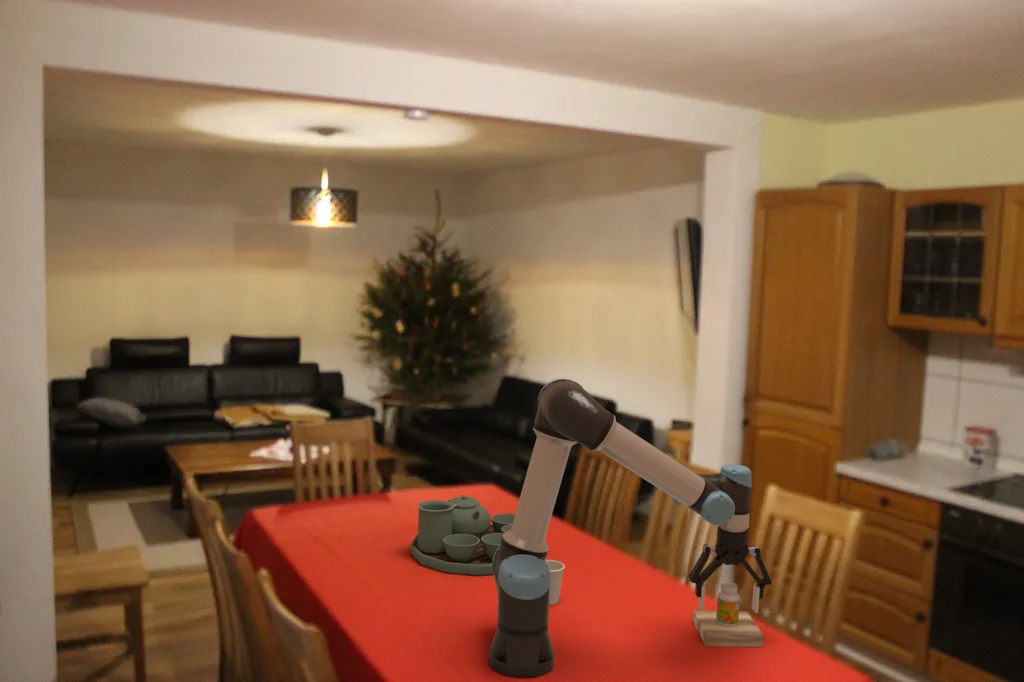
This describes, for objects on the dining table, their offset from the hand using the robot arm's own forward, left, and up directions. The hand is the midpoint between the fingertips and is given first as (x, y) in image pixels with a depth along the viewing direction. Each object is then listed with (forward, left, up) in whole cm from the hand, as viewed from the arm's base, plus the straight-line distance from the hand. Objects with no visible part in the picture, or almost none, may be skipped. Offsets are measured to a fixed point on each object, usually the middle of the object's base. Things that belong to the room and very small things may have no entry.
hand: (728, 610), depth 218 cm
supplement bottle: (0, 0, -3) cm, 3 cm away
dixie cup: (+18, +44, -6) cm, 48 cm away
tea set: (+54, +65, -7) cm, 85 cm away
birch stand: (0, 0, -6) cm, 6 cm away
